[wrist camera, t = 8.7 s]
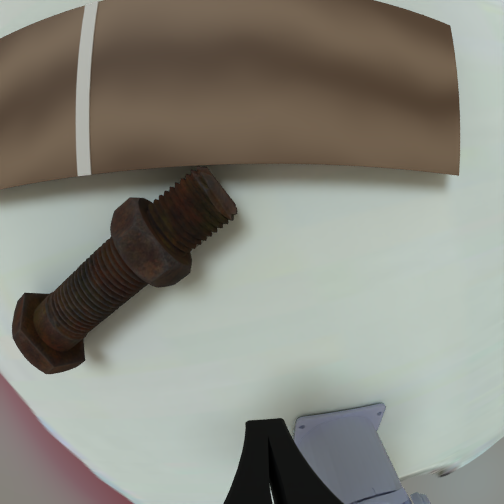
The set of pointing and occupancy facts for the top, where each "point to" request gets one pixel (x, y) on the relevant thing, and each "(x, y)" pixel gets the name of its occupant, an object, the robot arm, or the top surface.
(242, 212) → the top surface
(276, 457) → the robot arm
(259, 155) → the plank
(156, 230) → the bolt
